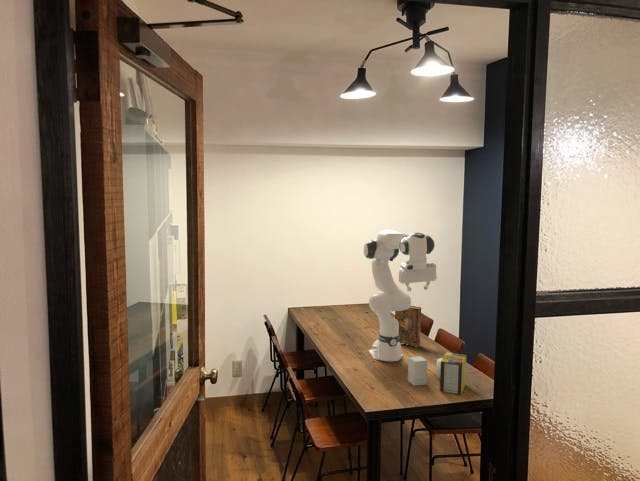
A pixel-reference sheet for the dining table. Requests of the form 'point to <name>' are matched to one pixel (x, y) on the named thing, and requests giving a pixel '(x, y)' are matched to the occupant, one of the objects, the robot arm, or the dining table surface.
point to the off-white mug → (438, 367)
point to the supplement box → (417, 370)
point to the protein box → (453, 373)
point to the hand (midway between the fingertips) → (417, 290)
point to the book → (409, 325)
